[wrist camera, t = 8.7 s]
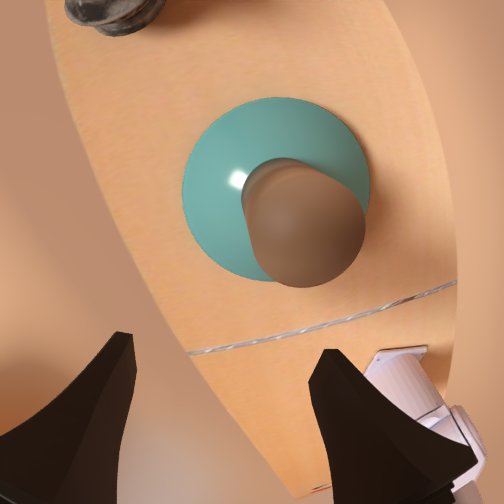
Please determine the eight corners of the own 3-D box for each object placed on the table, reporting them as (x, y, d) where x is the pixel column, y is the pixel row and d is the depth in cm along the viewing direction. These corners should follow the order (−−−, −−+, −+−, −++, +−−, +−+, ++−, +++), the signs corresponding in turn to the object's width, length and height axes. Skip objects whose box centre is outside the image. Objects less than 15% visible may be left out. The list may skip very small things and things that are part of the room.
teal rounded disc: (335, 279, 21) (341, 287, 20) (177, 263, 19) (175, 272, 18) (378, 126, 16) (387, 127, 15) (199, 85, 14) (197, 82, 13)
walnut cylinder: (309, 241, 18) (343, 292, 13) (234, 229, 17) (240, 280, 12) (330, 168, 16) (379, 192, 11) (250, 149, 15) (267, 164, 10)
